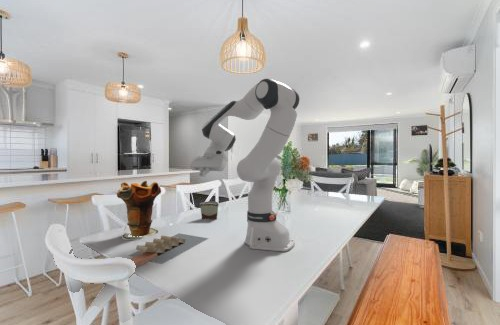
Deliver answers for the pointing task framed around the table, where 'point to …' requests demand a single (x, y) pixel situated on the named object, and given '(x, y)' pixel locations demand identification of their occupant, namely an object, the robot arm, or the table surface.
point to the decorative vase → (139, 208)
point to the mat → (175, 248)
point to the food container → (209, 210)
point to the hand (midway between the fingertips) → (201, 175)
